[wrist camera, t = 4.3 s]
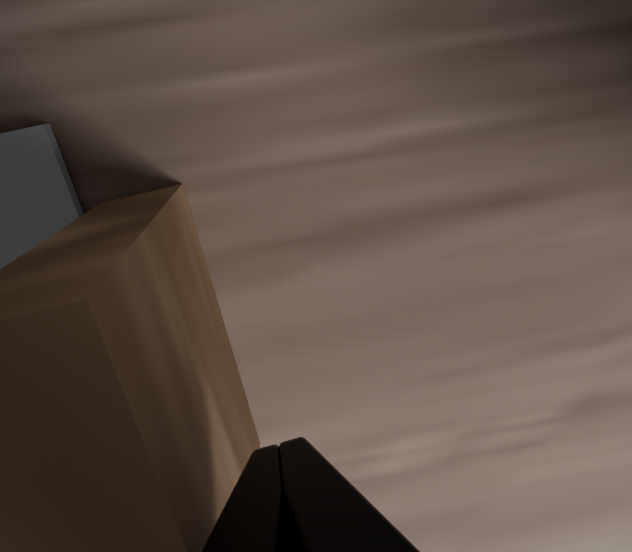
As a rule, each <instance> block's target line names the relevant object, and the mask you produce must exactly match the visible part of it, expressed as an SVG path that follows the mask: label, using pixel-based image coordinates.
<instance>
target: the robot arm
mask: <svg viewBox="0 0 632 552" xmlns="http://www.w3.org/2000/svg"><path fill="white" fill-rule="evenodd" d="M201 552H420V551H419V550H418V549H417V548H416V547H415V546H414V545H413V544H412V543H411V542H410V541H408V540H407V539H406V538H405V537H404V536H403V535H402V534H401V533H400V532H399V531H398V530H397V529H396V528H395V527H394V526H393V525H392V524H391V523H390V522H389V521H388V520H387V519H386V518H385V517H384V516H383V515H382V514H381V513H380V512H379V511H378V510H377V509H376V508H375V507H374V506H373V505H372V504H371V503H370V502H369V501H368V500H367V499H366V498H365V497H364V496H363V495H362V494H361V493H360V492H359V491H358V490H357V489H356V488H355V487H354V486H353V485H352V484H351V483H350V482H349V481H348V480H347V479H346V478H345V477H344V476H343V475H342V474H341V473H340V472H339V471H338V470H337V469H335V468H334V467H333V466H332V465H331V464H330V463H329V462H328V461H327V460H326V459H325V458H324V457H323V456H322V455H321V454H320V453H319V452H318V451H317V450H316V449H315V448H314V447H313V446H312V445H311V444H310V443H309V442H308V441H307V440H306V439H305V438H303V437H299V438H295V439H292V440H288V441H285V442H282V443H281V444H280V446H279V447H278V446H277V445H271V446H267V447H263V448H260V449H256V450H254V451H253V452H252V454H251V456H250V458H249V460H248V461H247V463H246V465H245V467H244V469H243V471H242V473H241V475H240V477H239V479H238V481H237V483H236V485H235V487H234V489H233V491H232V493H231V495H230V497H229V498H228V500H227V502H226V504H225V506H224V508H223V510H222V512H221V514H220V516H219V518H218V520H217V522H216V524H215V526H214V528H213V530H212V532H211V534H210V535H209V537H208V539H207V541H206V543H205V545H204V547H203V549H202V551H201Z"/></svg>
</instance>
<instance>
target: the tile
mask: <svg viewBox="0 0 632 552" xmlns="http://www.w3.org/2000/svg"><path fill="white" fill-rule="evenodd" d="M256 449H260V442H259V439H258V435H257V432H256V429H255V425H254V422H253V419H252V415H251V412H250V409H249V405H248V402H247V399H246V395H245V392H244V389H243V385H242V382H241V379H240V375H239V372H238V369H237V365H236V362H235V359H234V355H233V352H232V348H231V345H230V342H229V338H228V335H227V332H226V328H225V325H224V322H223V318H222V315H221V312H220V308H219V305H218V302H217V298H216V295H215V292H214V288H213V285H212V282H211V278H210V275H209V272H208V268H207V265H206V262H205V258H204V255H203V252H202V248H201V245H200V242H199V238H198V235H197V232H196V228H195V225H194V221H193V218H192V215H191V211H190V208H189V205H188V201H187V198H186V195H185V191H184V188H183V185H182V184H179V185H175V186H170V187H166V188H161V189H157V190H153V191H148V192H144V193H140V194H135V195H131V196H127V197H122V198H118V199H114V200H109V201H105V202H102V203H100V204H99V205H97V206H96V207H94V208H92V209H91V210H89V211H88V212H86V213H85V214H83V215H82V216H80V217H79V218H77V219H76V220H74V221H73V222H71V223H70V224H68V225H67V226H65V227H64V228H62V229H61V230H59V231H58V232H56V233H55V234H53V235H52V236H50V237H48V238H47V239H45V240H44V241H42V242H41V243H39V244H38V245H36V246H35V247H33V248H32V249H30V250H29V251H27V252H26V253H24V254H23V255H21V256H20V257H18V258H17V259H15V260H14V261H12V262H11V263H9V264H8V265H6V266H4V267H3V268H1V269H0V552H201V551H202V549H203V547H204V545H205V543H206V541H207V539H208V537H209V535H210V534H211V532H212V530H213V528H214V526H215V524H216V522H217V520H218V518H219V516H220V514H221V512H222V510H223V508H224V506H225V504H226V502H227V500H228V498H229V497H230V495H231V493H232V491H233V489H234V487H235V485H236V483H237V481H238V479H239V477H240V475H241V473H242V471H243V469H244V467H245V465H246V463H247V461H248V460H249V458H250V456H251V454H252V452H253V451H254V450H256Z"/></svg>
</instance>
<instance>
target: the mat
mask: <svg viewBox="0 0 632 552" xmlns="http://www.w3.org/2000/svg"><path fill="white" fill-rule="evenodd" d="M82 215H83V211H82V208H81V206H80V203H79V200H78V198H77V195H76V192H75V190H74V187H73V184H72V182H71V179H70V176H69V174H68V171H67V168H66V166H65V163H64V160H63V158H62V155H61V152H60V150H59V147H58V144H57V142H56V139H55V136H54V134H53V131H52V128H51V126H50V124H42V125H37V126H33V127H28V128H24V129H19V130H14V131H10V132H5V133H0V269H1V268H3V267H4V266H6V265H8V264H9V263H11V262H12V261H14V260H15V259H17V258H18V257H20V256H21V255H23V254H24V253H26V252H27V251H29V250H30V249H32V248H33V247H35V246H36V245H38V244H39V243H41V242H42V241H44V240H45V239H47V238H48V237H50V236H52V235H53V234H55V233H56V232H58V231H59V230H61V229H62V228H64V227H65V226H67V225H68V224H70V223H71V222H73V221H74V220H76V219H77V218H79V217H80V216H82Z"/></svg>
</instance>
